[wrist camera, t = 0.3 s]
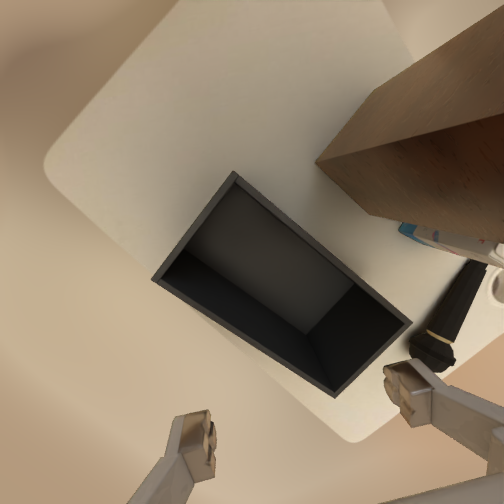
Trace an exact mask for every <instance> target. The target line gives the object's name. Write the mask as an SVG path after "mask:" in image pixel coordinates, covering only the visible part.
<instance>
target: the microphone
mask: <svg viewBox="0 0 504 504" xmlns="http://www.w3.org/2000/svg"><path fill="white" fill-rule="evenodd" d="M487 265H488V264H487V263H483V262H480V261H477V260H474V259H472V260H471V261H470V263H469V264H466V266H465V267H464V269H463V271H462V272H461V274H460V275H459V277H458V279H457V280H456V282H455V283H454V285H453V287H452V288H451V290H450V291H449V293H448V295H447V296H446V298H445V299H444V301H443V303H442V304H441V306H440V307H439V309H438V311H437V312H436V314H435V315H434V317H433V319H432V320H431V322H430V323H429V325H428V327H427V328H426V330H427V333H424V334H419V335H418V336H416V337H414V336H413V337H411V338H410V340H409V342H410V348H409V354H410V356H411V358H412V359H414V358H417V359H419V360H420V361H421V362H423V363H424V364H425V365H426V366H427V367H428V368H429V369H430V370H431V371H432V372H433V373H442V372H443V371H445V370H446V369H447V368H448V367H449V366H454V364H455V362H456V359H455V358H454V354H453V350H452V348H451V346H450V344H451V343H454V341H455V339H456V337H457V335H458V333H459V330H460V328H461V326H462V324H463V322H464V319H465V317H466V315H467V313H468V311H469V308H470V306H471V304H472V302H473V300H474V298H475V295H476V293H477V291H478V289H479V287H480V284H481V282H482V280H483V278H484V276H485V273H486V271H487V270H485V269H486V267H487Z"/></svg>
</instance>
